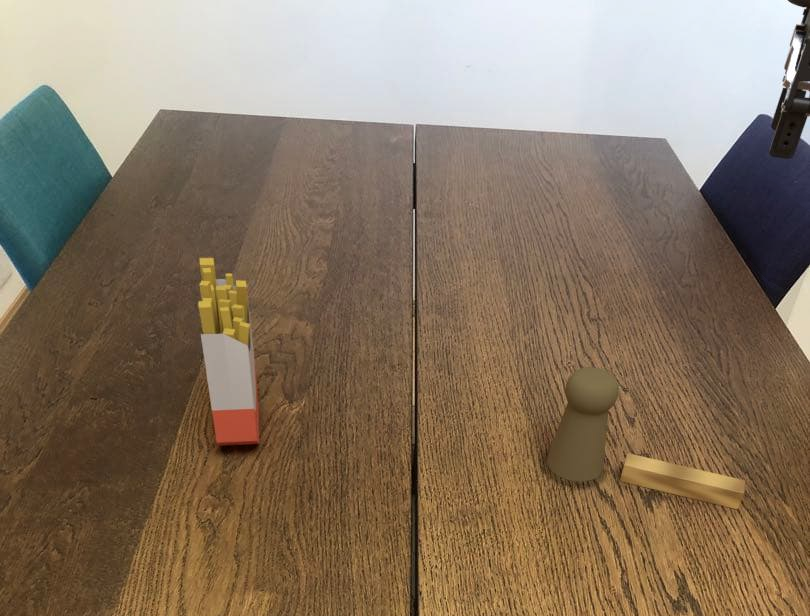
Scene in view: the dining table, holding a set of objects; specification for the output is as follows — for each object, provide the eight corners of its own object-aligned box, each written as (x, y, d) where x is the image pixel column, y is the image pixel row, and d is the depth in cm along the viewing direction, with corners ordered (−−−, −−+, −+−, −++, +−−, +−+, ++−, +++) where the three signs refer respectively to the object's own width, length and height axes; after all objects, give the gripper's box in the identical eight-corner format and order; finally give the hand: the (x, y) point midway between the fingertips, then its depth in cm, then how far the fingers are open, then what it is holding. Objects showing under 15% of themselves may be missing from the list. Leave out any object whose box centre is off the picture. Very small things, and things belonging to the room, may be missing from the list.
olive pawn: (582, 489, 84) (605, 400, 77) (535, 463, 87) (552, 374, 79) (613, 463, 88) (638, 375, 80) (567, 439, 90) (586, 352, 83)
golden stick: (738, 496, 84) (745, 480, 83) (737, 509, 83) (744, 493, 81) (622, 469, 87) (627, 452, 85) (619, 481, 85) (624, 464, 84)
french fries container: (262, 400, 93) (247, 248, 81) (263, 459, 86) (247, 301, 73) (221, 402, 93) (200, 249, 80) (218, 461, 85) (195, 302, 73)
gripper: (905, -44, 63) (822, 173, 74) (890, -68, 73) (819, 127, 84) (803, -54, 64) (737, 160, 76) (802, -76, 74) (744, 116, 85)
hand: (780, 142), depth 80 cm, fingers open, 8 cm apart
